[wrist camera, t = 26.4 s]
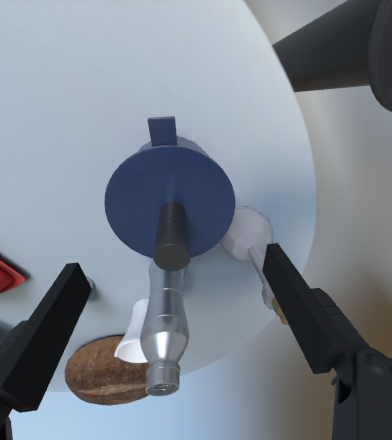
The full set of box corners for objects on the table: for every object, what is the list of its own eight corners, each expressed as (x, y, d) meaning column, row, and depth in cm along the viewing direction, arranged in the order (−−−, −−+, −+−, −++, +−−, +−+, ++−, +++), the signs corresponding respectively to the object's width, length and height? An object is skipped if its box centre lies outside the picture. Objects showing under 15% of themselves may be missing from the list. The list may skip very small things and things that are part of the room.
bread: (60, 334, 47) (36, 384, 38) (169, 329, 50) (168, 374, 42) (83, 378, 60) (68, 422, 52) (167, 371, 64) (166, 411, 55)
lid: (236, 138, 18) (275, 159, 11) (229, 248, 25) (251, 302, 18) (88, 149, 17) (31, 179, 10) (126, 259, 25) (107, 320, 18)
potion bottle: (230, 249, 37) (268, 349, 22) (206, 218, 33) (234, 317, 18) (270, 226, 35) (343, 319, 20) (250, 191, 31) (325, 275, 16)
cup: (122, 295, 41) (109, 344, 33) (165, 293, 42) (162, 340, 34) (127, 318, 46) (117, 367, 38) (166, 316, 47) (164, 362, 39)
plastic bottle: (143, 262, 37) (118, 397, 20) (164, 240, 35) (154, 371, 18) (170, 275, 40) (168, 403, 23) (190, 255, 37) (205, 382, 20)
